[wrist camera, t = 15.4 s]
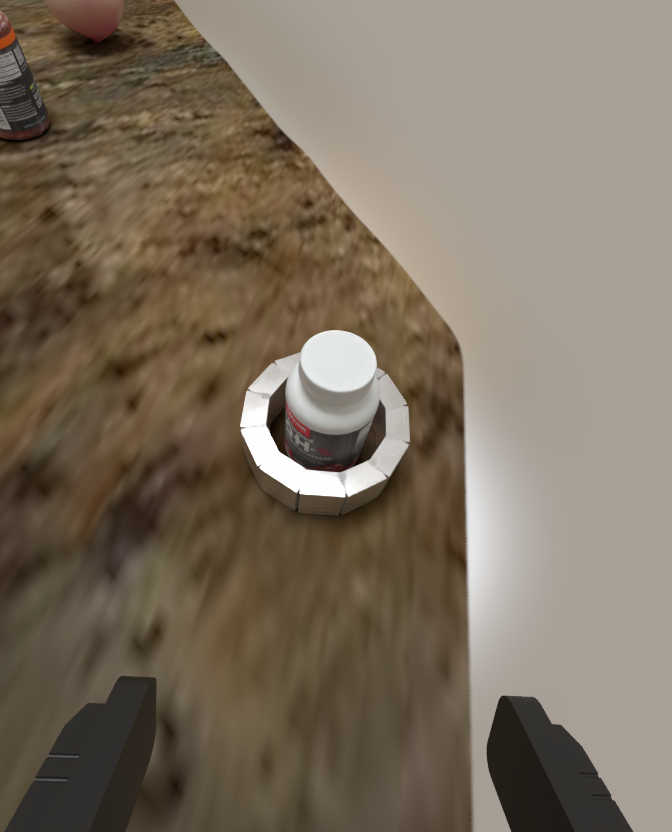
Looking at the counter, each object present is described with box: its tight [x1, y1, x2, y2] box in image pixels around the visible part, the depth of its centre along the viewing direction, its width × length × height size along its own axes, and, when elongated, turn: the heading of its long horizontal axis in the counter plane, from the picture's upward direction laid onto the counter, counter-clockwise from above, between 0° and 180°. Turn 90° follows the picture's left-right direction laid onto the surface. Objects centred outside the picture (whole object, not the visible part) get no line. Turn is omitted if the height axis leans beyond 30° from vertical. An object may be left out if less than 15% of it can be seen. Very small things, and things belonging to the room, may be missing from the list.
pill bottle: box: [285, 330, 380, 473], centre depth 27 cm, size 5×5×10 cm
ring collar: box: [240, 352, 410, 516], centre depth 30 cm, size 10×10×4 cm
